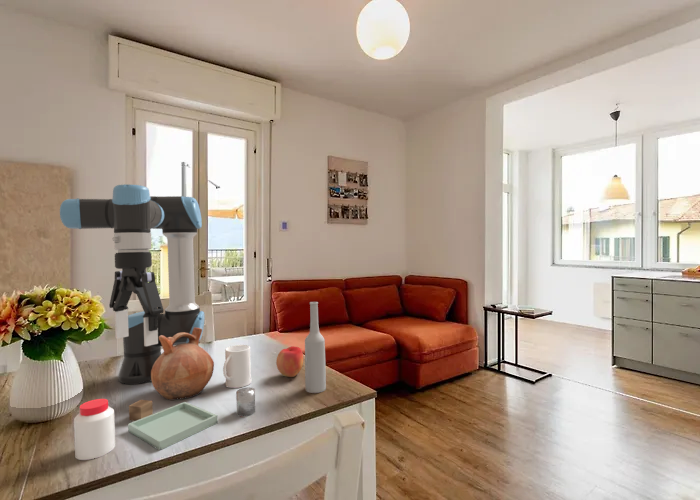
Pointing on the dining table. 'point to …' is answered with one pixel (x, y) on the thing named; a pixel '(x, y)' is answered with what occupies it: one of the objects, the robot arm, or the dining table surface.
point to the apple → (290, 361)
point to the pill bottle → (94, 430)
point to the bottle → (315, 355)
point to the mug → (237, 366)
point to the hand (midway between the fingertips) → (136, 341)
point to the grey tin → (245, 401)
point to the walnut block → (140, 409)
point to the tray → (172, 425)
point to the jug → (182, 367)
